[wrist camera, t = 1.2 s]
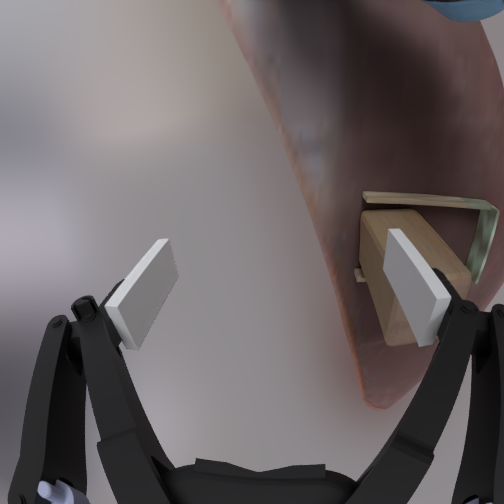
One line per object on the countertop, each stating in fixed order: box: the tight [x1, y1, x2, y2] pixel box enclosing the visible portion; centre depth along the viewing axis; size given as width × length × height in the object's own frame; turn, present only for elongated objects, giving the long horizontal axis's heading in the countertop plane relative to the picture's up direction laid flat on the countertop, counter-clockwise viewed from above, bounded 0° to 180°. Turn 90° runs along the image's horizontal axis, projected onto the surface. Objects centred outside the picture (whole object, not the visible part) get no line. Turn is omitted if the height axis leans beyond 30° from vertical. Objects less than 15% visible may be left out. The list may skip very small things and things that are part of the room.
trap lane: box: [354, 191, 500, 283], centre depth 39 cm, size 15×26×5 cm, turn 94°
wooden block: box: [359, 208, 471, 347], centre depth 34 cm, size 10×10×20 cm
